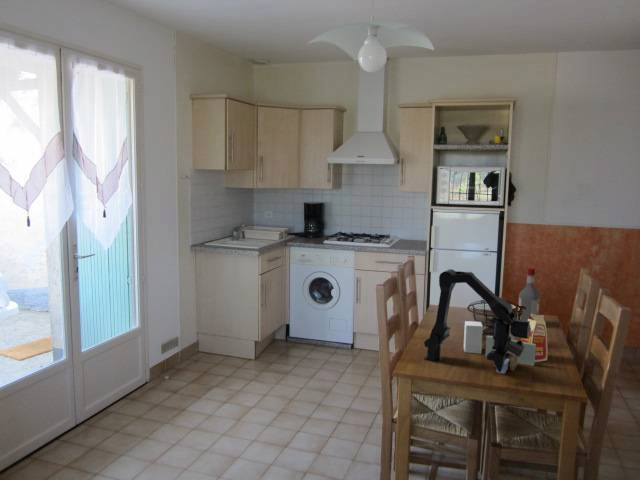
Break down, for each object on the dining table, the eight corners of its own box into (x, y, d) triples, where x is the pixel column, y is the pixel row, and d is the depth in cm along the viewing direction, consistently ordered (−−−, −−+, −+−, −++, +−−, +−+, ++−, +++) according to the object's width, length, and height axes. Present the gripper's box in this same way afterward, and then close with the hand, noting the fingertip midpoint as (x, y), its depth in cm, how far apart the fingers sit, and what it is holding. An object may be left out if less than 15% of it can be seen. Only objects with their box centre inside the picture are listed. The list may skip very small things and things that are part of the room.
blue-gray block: (504, 373, 210) (505, 365, 210) (496, 371, 212) (496, 364, 211) (509, 366, 217) (510, 359, 217) (501, 364, 219) (502, 357, 219)
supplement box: (481, 353, 232) (483, 326, 230) (464, 352, 233) (465, 325, 231) (480, 348, 239) (481, 321, 237) (463, 347, 240) (464, 320, 239)
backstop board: (533, 366, 218) (535, 345, 217) (485, 356, 229) (486, 336, 227) (534, 364, 220) (535, 344, 218) (486, 355, 230) (487, 335, 229)
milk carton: (531, 362, 222) (534, 317, 219) (517, 354, 231) (520, 311, 228) (549, 360, 225) (552, 315, 222) (535, 353, 233) (538, 309, 231)
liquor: (516, 324, 275) (519, 268, 271) (521, 320, 282) (524, 266, 278) (534, 327, 270) (538, 271, 265) (538, 323, 277) (542, 268, 273)
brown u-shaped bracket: (513, 370, 213) (514, 359, 212) (493, 366, 217) (494, 355, 216) (517, 365, 219) (517, 353, 218) (497, 361, 223) (498, 350, 222)
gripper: (517, 344, 195) (515, 384, 197) (528, 331, 211) (525, 368, 213) (487, 338, 201) (485, 377, 203) (499, 326, 217) (497, 362, 219)
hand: (499, 371), depth 210 cm, fingers closed
